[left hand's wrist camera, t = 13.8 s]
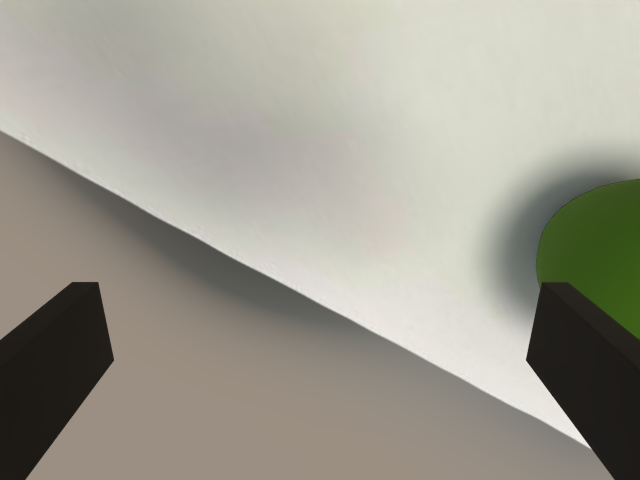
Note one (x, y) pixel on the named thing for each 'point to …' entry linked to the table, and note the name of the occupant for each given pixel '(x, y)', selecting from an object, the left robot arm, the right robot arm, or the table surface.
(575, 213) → the vase
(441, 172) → the table surface
